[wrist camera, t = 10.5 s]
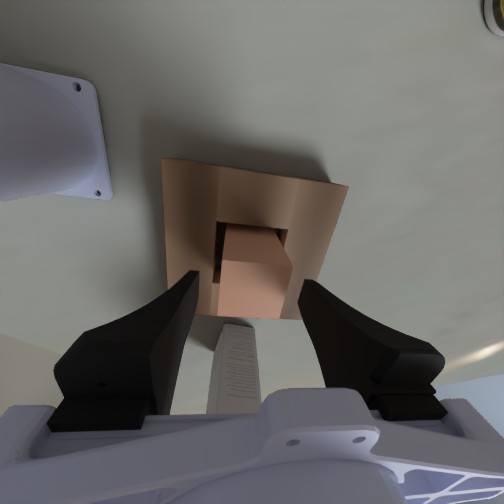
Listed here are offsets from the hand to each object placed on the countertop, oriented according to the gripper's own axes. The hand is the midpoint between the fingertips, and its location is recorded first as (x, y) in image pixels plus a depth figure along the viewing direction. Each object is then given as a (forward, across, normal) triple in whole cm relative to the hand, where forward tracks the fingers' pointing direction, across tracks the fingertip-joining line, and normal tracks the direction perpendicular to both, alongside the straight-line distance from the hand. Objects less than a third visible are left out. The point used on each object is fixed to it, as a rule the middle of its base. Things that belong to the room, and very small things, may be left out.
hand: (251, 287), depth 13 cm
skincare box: (+8, 0, +14) cm, 16 cm away
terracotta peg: (+7, 0, 0) cm, 7 cm away
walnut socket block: (+7, 0, 0) cm, 7 cm away
